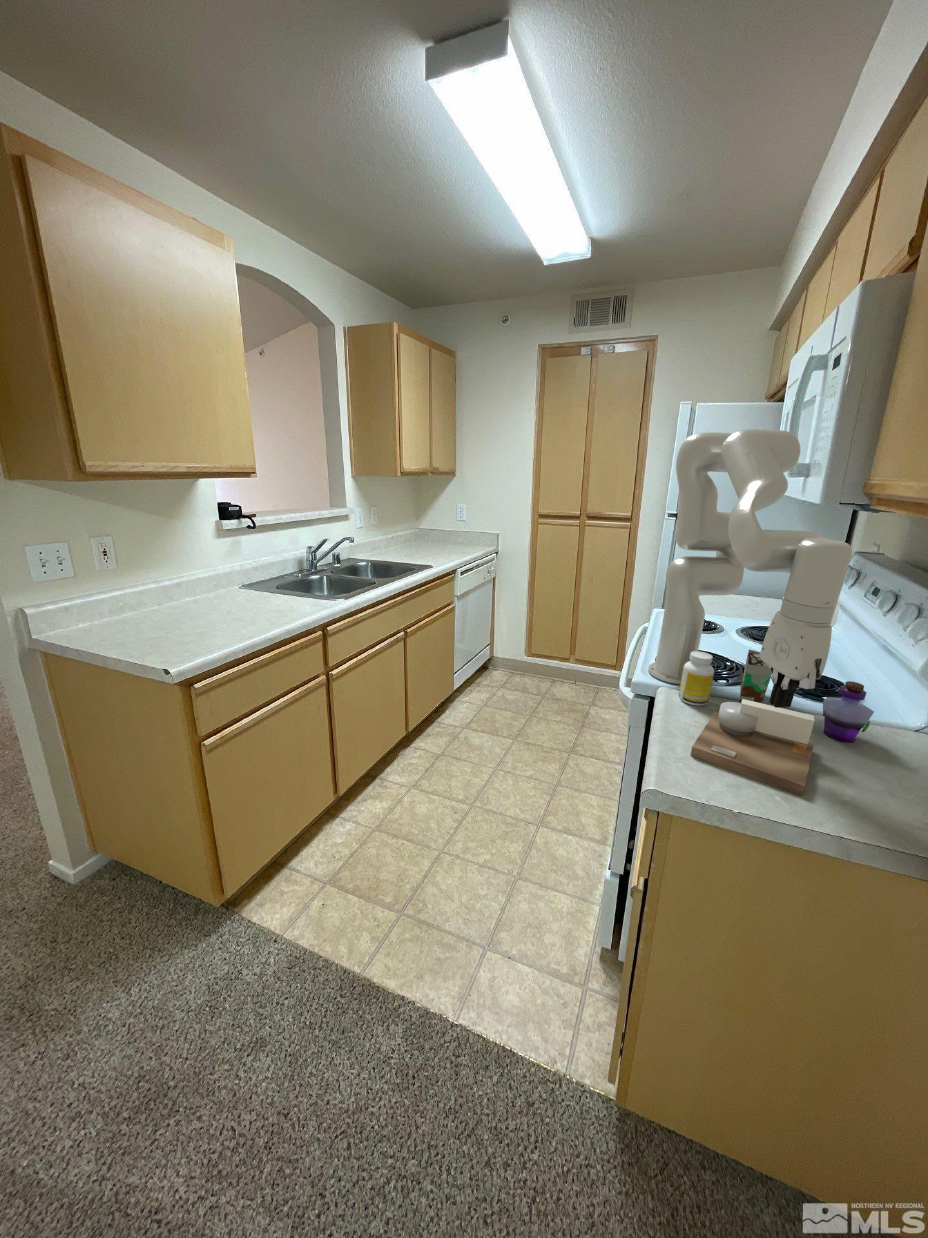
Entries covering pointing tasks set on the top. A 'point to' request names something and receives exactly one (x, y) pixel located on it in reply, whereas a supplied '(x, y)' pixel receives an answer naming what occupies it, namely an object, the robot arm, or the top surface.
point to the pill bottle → (697, 679)
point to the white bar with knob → (766, 720)
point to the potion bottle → (846, 713)
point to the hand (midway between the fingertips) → (779, 705)
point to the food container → (754, 678)
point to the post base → (755, 755)
